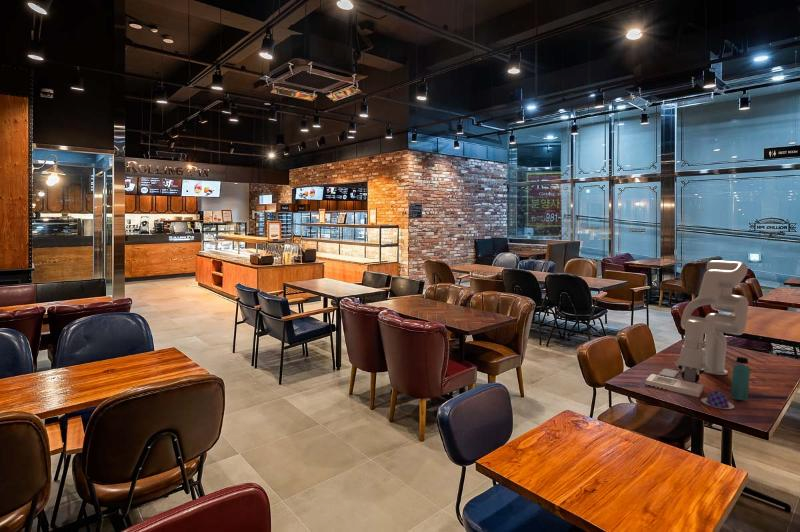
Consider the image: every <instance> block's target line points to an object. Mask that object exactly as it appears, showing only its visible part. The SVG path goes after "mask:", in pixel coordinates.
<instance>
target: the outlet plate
mask: <svg viewBox="0 0 800 532" xmlns="http://www.w3.org/2000/svg"><path fill="white" fill-rule="evenodd" d="M645 384H647V385H646V386H648V385H651V386H650V387H652V386H655V387H654V388H657V387H659V388H658V389H661V388H663V389H662V390H665V389H667V390H666V391H670V392H675V393H680V394H684V395H688V396H692V397H696V398H699V397H700V396H701V394H702V392H703V390H704V384H701V383H698V382H697V383H692V382H687V381H684V380H683V379H678V378H669V377H664V376H660V375H658V374H655V373H651V374H650V375H649V376H648V377H647V378H646V379H645Z"/></svg>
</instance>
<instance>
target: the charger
mask: <svg viewBox="0 0 800 532" xmlns="http://www.w3.org/2000/svg"><path fill="white" fill-rule="evenodd" d="M696 373H697V372H696V369H695V368H690V367H686V368H685V375H684V380H683V381H687V382H692V383H695V377H696Z"/></svg>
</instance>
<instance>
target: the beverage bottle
mask: <svg viewBox="0 0 800 532" xmlns="http://www.w3.org/2000/svg"><path fill="white" fill-rule="evenodd" d="M736 362H737V363H735V364H733V365H732V375H731V383H730V384H731V385H730V397H731V398H733V399H735V400H739V401H747V400H748V399H749V395H750V374H751V368H750V366H748V365H747V364H749V358H747V357H743V356H737V357H736Z"/></svg>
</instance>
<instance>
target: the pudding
mask: <svg viewBox="0 0 800 532" xmlns="http://www.w3.org/2000/svg"><path fill="white" fill-rule="evenodd" d="M700 401H701V402H702V403H703V404H704V405H707V406H709V407H713V408H717V409H724V410H732V409H734V408H735V405H734V404H733V403H731V402H729V400H728V396H727V394H725V393H723V392H722V391H710V392H709V394H708V396H707V397H703V398H701V399H700Z"/></svg>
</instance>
